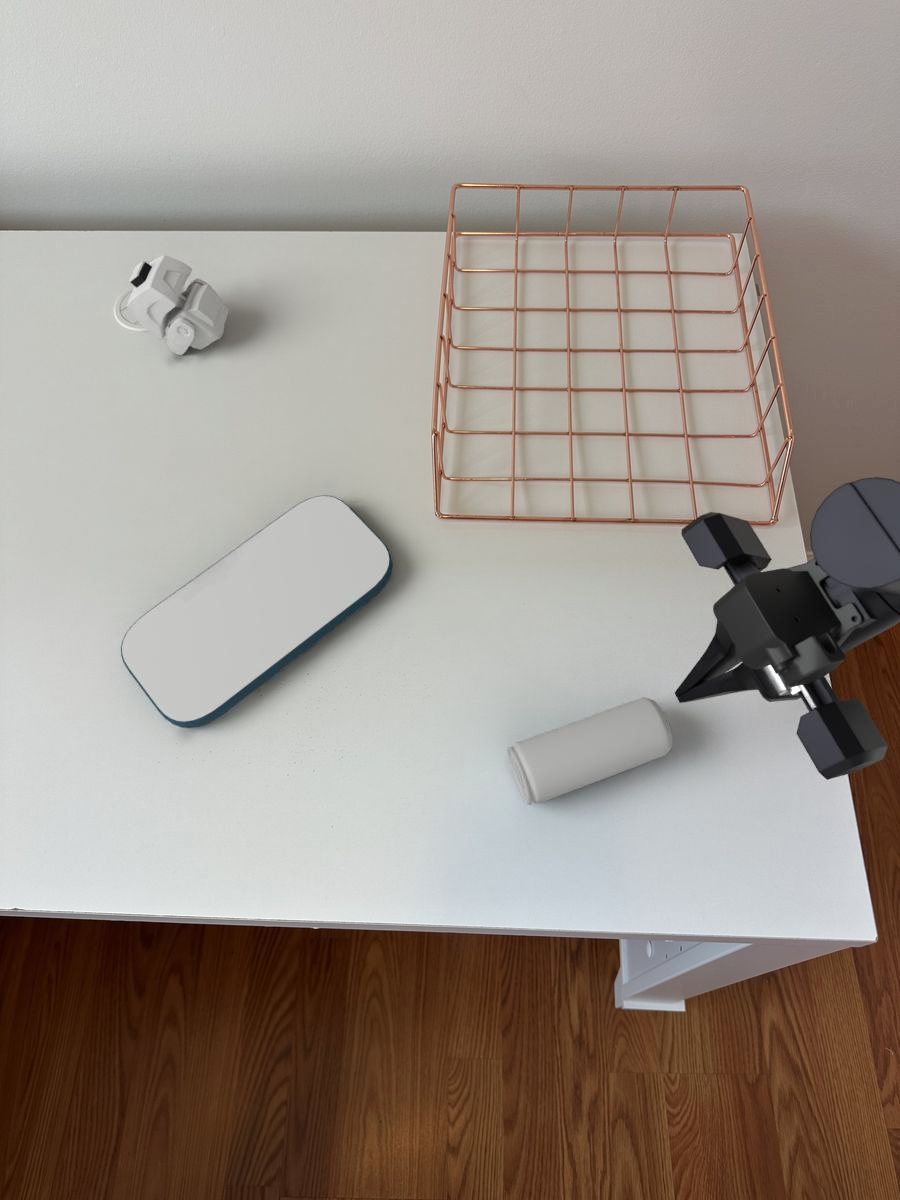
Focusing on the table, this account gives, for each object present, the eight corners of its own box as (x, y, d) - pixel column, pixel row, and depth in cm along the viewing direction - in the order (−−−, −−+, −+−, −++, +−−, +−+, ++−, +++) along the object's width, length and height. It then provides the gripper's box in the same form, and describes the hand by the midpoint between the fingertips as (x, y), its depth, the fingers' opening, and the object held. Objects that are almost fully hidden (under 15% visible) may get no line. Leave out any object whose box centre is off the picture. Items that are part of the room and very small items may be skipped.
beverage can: (671, 715, 62) (521, 770, 61) (678, 765, 64) (534, 819, 63) (642, 683, 66) (501, 734, 65) (650, 731, 69) (514, 781, 67)
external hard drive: (187, 747, 68) (179, 740, 66) (114, 649, 72) (104, 640, 70) (408, 574, 74) (406, 564, 72) (330, 492, 78) (326, 481, 76)
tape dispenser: (212, 326, 90) (129, 263, 84) (247, 303, 85) (161, 234, 79) (194, 369, 87) (107, 308, 81) (229, 347, 83) (140, 280, 77)
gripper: (745, 436, 49) (559, 582, 58) (932, 722, 42) (686, 839, 50) (816, 468, 57) (643, 591, 66) (983, 712, 50) (763, 815, 58)
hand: (679, 698), depth 60 cm, fingers closed
